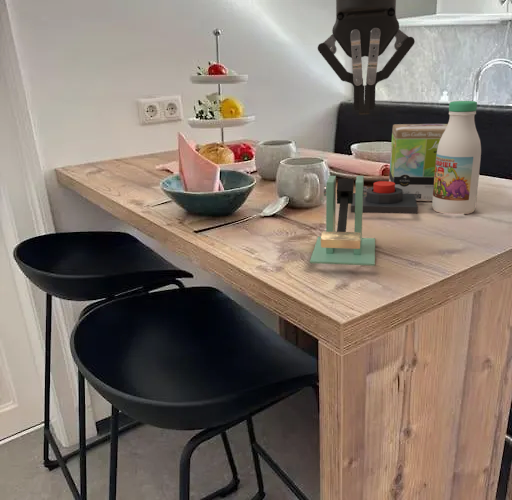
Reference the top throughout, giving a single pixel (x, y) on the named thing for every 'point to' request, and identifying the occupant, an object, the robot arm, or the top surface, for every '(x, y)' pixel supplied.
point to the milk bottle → (457, 162)
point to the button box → (388, 202)
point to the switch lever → (342, 220)
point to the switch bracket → (366, 244)
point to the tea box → (415, 158)
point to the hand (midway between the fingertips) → (363, 113)
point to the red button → (384, 187)
